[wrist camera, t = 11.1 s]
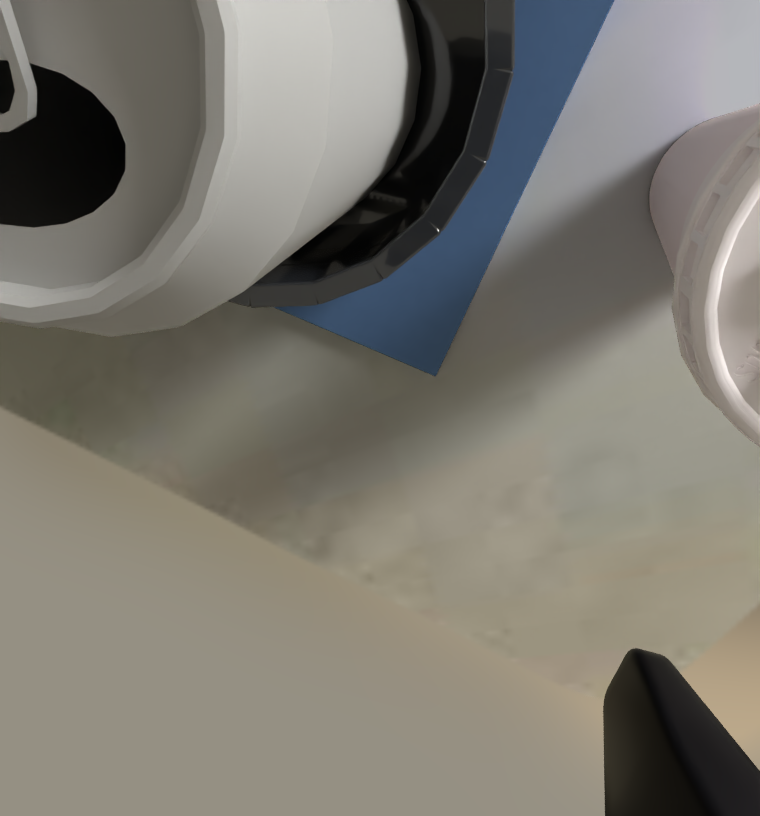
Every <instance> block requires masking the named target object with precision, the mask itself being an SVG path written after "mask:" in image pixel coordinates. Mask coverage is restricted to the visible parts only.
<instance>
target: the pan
mask: <svg viewBox="0 0 760 816" xmlns="http://www.w3.org/2000/svg"><path fill="white" fill-rule="evenodd" d="M407 2H408V4H409V7H410V9H411V11H412V13H413V17H414V24H415V31H416V37H417V44H418V51H419V57H420V64H421V74H420V81H419V89H418V97H417V105H416V113H415V120H414V122H413V125H412V127H411V129H410V131H409V134H408V136H407V138H406V141H405V143H404V145H403V147H402V150H401V152H400V154H399V156H398V159H397V161H396V163H395V165H394V166H393V167H392V168H391V169H390V170H389V172H388V173H387V174H386V175H385V176H384V177H383V178H382V180H381V181H380V182H379V183H378V184H377V185H376V186H375V188H374V189H373V190H372V191H371V192H370V193H369V194H368V196H367V197H366V198H364V199H363V200H362V201H360V202H359V203H358V204H357V205H355V206H354V207H353V208H351V209H350V210H349V211H347V212H346V213H345V214H344V215H342V216H341V217H340V218H338V219H337V220H336V221H334V222H333V223H332V224H331V225H329V226H328V227H327V228H325V229H324V230H323V231H322V232H320V233H319V234H318V235H316V236H315V237H314V238H312V239H311V240H310V241H309V242H307V243H306V244H305V245H303V246H302V247H301V248H299V249H298V250H297V251H296V252H294V253H293V254H292V255H290V256H289V257H288V258H287V259H285V260H284V261H283V262H281V263H280V264H279V265H277V266H276V267H275V268H274V269H272V270H271V271H270V272H268V273H267V274H266V275H264V276H263V277H262V278H261V279H259V280H258V281H257V282H255V283H254V284H253V285H252V286H250V287H249V288H248V289H246V290H245V291H244V292H242V293H241V294H239V295H237V296H235V297H233V298H232V299H230V300H228V301H230V302H233V303H237V304H240V305H244V306H247V307H250V306H251V307H252V308H257V307H286V306H315V305H318V304H323V303H326V302H328V301H331V300H334V299H336V298H339V297H342V296H344V295H347V294H350V293H352V292H355V291H358V290H360V289H363V288H366V287H368V286H371V285H374V284H376V283H379V282H381V281H382V280H383V279H387V278H388V277H389V276H390V275H391V274H393V273H394V272H395V271H396V270H398V269H399V268H400V267H401V266H402V265H404V264H405V263H406V262H407V261H409V260H410V259H411V258H412V257H413V256H415V255H416V254H417V253H418V252H420V251H421V250H422V249H423V248H424V247H426V246H427V245H428V244H429V243H431V242H432V241H433V240H434V239H435V238H437V237H438V236H439V235H440V234H441V232H442V231H443V230H445V228H446V226H447V225H448V223H449V222H450V220H451V219H452V217H453V216H454V214H455V213H456V211H457V209H458V208H459V206H460V205H461V203H462V202H463V200H464V199H465V197H466V196H467V194H468V192H469V191H470V189H471V188H472V186H473V185H474V183H475V182H476V180H477V179H478V177H479V175H480V174H481V172H482V171H483V169H484V168H485V166H486V164H487V161H488V159H489V158H490V154H491V151H492V147H493V144H494V140H495V137H496V134H497V130H498V127H499V123H500V120H501V117H502V113H503V110H504V106H505V103H506V99H507V96H508V93H509V89H510V86H511V82H512V79H513V75H514V72H513V70H514V68H515V0H407Z"/></svg>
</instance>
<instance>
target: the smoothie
mask: <svg viewBox="0 0 760 816" xmlns="http://www.w3.org/2000/svg"><path fill="white" fill-rule="evenodd" d="M649 207H650V214H651V217H652V221H653V223H654V226H655V228H656V231H657V234H658V236H659V239H660V241H661V244H662V246H663V249H664V252H665V254H666V257H667V259H668V262H669V264H670V267H671V270H672V272H673V275H674V277H675V279H674V289H673V299H672V312H673V317H674V322H675V327H676V332H677V337H678V342H679V347H680V352H681V356H682V357H683V359H684V361H685V363H686V364H687V366H688V368H689V370H690V371H691V373H692V375H693V377H694V379H695V380H696V382H697V384H698V386H699V387H700V389H701V391H702V393H703V394H704V395H705V396H706V397H707V398H708V399H709V400H710V401H711V402H712V403H713V404H714V405H715V406H716V407H718V408H719V409H720V410H721V411H722V413H723V414H724V415H725V416H726V417H727V418H728V420H729V421H730V422H731V423H732V424H733V425H734V426H735V427H736V428H737V429H738V430H739V431H740V432H741V433H743V434H744V435H745V436H746V437H747V438H748V439H749V440H751V441H752V442H754V443H755V444H757V445H758V446H759V447H760V103H759V104H756V105H753V106H750V107H747V108H744V109H741V110H738V111H734V112H731V113H728V114H725V115H722V116H719V117H716V118H713V119H710V120H707V121H705V122H703V123H701V124H699V125H697V126H695V127H694V128H692V129H690V130H689V131H688V132H686V133H685V134H684V135H682V136H681V137H680V138H679V139H678V140H677V141H676V142H675V143H674V144H673V145H672V146H671V147H670V148H669V149H668V151H667V152H666V153H665V155H664V156H663V158H662V159H661V161H660V163H659V165H658V167H657V169H656V171H655V173H654V176H653V179H652V183H651V187H650V193H649Z"/></svg>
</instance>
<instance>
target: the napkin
mask: <svg viewBox="0 0 760 816" xmlns="http://www.w3.org/2000/svg"><path fill="white" fill-rule="evenodd" d="M613 2H614V0H515V68H514V70H513V72H514V75H513V79H512V82H511V86H510V89H509V93H508V96H507V99H506V103H505V106H504V110H503V113H502V117H501V120H500V123H499V127H498V130H497V134H496V137H495V140H494V144H493V147H492V151H491V154H490V158H489V159H488V161H487V164H486V166H485V168H484V169H483V171H482V172H481V174H480V175H479V177H478V179H477V180H476V182H475V183H474V185H473V186H472V188H471V189H470V191H469V192H468V194H467V196H466V197H465V199H464V200H463V202H462V203H461V205H460V206H459V208H458V209H457V211H456V213H455V214H454V216H453V217H452V219H451V220H450V222H449V223H448V225H447V226H446V228H445V230H443V231H442V232H441V234H440V235H439V236H438V237H437V238H435V239H434V240H433V241H432V242H431V243H429V244H428V245H427V246H426V247H424V248H423V249H422V250H421V251H420V252H418V253H417V254H416V255H415V256H413V257H412V258H411V259H410V260H409V261H407V262H406V263H405V264H404V265H402V266H401V267H400V268H399V269H398V270H396V271H395V272H394V273H393V274H391V275H390V276H389V277H388V278H387V279H383V280H382V281H381V282H379V283H376V284H374V285H371V286H368V287H366V288H363V289H360V290H358V291H355V292H352V293H350V294H347V295H344V296H342V297H339V298H336V299H334V300H331V301H328V302H326V303H323V304H318V305H315V306H286V307H274V308H277V309H279V310H281V311H284V312H286V313H289V314H291V315H293V316H296V317H298V318H300V319H303V320H305V321H307V322H310V323H312V324H314V325H317V326H319V327H321V328H324V329H326V330H328V331H331V332H333V333H335V334H338V335H340V336H342V337H345V338H347V339H349V340H352V341H354V342H356V343H359V344H361V345H363V346H366V347H368V348H370V349H373V350H375V351H378V352H380V353H382V354H385V355H387V356H389V357H392V358H394V359H396V360H399V361H401V362H403V363H406V364H408V365H410V366H413V367H415V368H417V369H420V370H422V371H424V372H427V373H429V374H431V375H434V376H436V374H437V372H438V370H439V368H440V366H441V364H442V362H443V360H444V358H445V355H446V353H447V351H448V349H449V347H450V345H451V343H452V341H453V339H454V336H455V334H456V332H457V330H458V328H459V326H460V324H461V322H462V320H463V318H464V315H465V313H466V311H467V309H468V307H469V305H470V303H471V301H472V299H473V296H474V294H475V292H476V290H477V288H478V286H479V284H480V282H481V280H482V278H483V275H484V273H485V271H486V269H487V267H488V265H489V263H490V261H491V259H492V256H493V254H494V252H495V250H496V248H497V246H498V244H499V242H500V240H501V237H502V235H503V233H504V231H505V229H506V227H507V225H508V223H509V221H510V219H511V216H512V214H513V212H514V210H515V208H516V206H517V204H518V202H519V200H520V197H521V195H522V193H523V191H524V189H525V187H526V185H527V183H528V181H529V179H530V176H531V174H532V172H533V170H534V168H535V166H536V164H537V162H538V160H539V157H540V155H541V153H542V151H543V149H544V147H545V145H546V143H547V141H548V139H549V136H550V134H551V132H552V130H553V128H554V126H555V124H556V122H557V120H558V117H559V115H560V113H561V111H562V109H563V107H564V105H565V103H566V101H567V99H568V96H569V94H570V92H571V90H572V88H573V86H574V84H575V82H576V80H577V77H578V75H579V73H580V71H581V69H582V67H583V65H584V63H585V61H586V58H587V56H588V54H589V52H590V50H591V48H592V46H593V44H594V42H595V40H596V37H597V35H598V33H599V31H600V29H601V27H602V25H603V23H604V21H605V18H606V16H607V14H608V12H609V10H610V8H611V6H612V4H613Z"/></svg>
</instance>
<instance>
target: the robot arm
mask: <svg viewBox="0 0 760 816" xmlns="http://www.w3.org/2000/svg"><path fill="white" fill-rule="evenodd" d="M603 714H604V716H603V717H604V775H605V776H604V780H605V816H760V771H759V770H758V769H757V767H756V766H755V765H754V763H753V762H752V761H751V760H750V759H749V757H748V756H747V755H746V754H745V752H744V751H743V750H742V749H741V747H740V746H739V745H738V744H737V743H736V742H735V740H734V739H733V738H732V736H731V735H730V734H729V733H728V732H727V730H726V729H725V728H724V727H723V725H722V724H721V723H720V722H719V720H718V719H717V718H716V717H715V716H714V714H713V713H712V712H711V711H710V709H709V708H708V707H707V706H706V705H705V704H704V702H703V701H702V700H701V698H700V697H699V696H698V695H697V694H696V692H695V691H694V690H693V689H692V688H691V686H690V685H689V684H688V682H687V681H686V680H685V679H684V678H683V676H682V675H681V674H680V673H679V671H678V670H677V669H676V668H675V667H674V665H673V664H672V663H671V662H670V661H669V660H668V659H667V658H666V657H665V656H662V655H660V654H656V653H653V652H649V651H645V650H642V649H638V648H635V649H631V650H630V651H628V653H627V654H626V655H625V657H624V659H623V661H622V663H621V665H620V666H619V668H618V670H617V672H616V674H615V676H614V677H613V679H612V681H611V683H610V685H609V687H608V689H607V691H606V694H605V698H604V706H603Z"/></svg>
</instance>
